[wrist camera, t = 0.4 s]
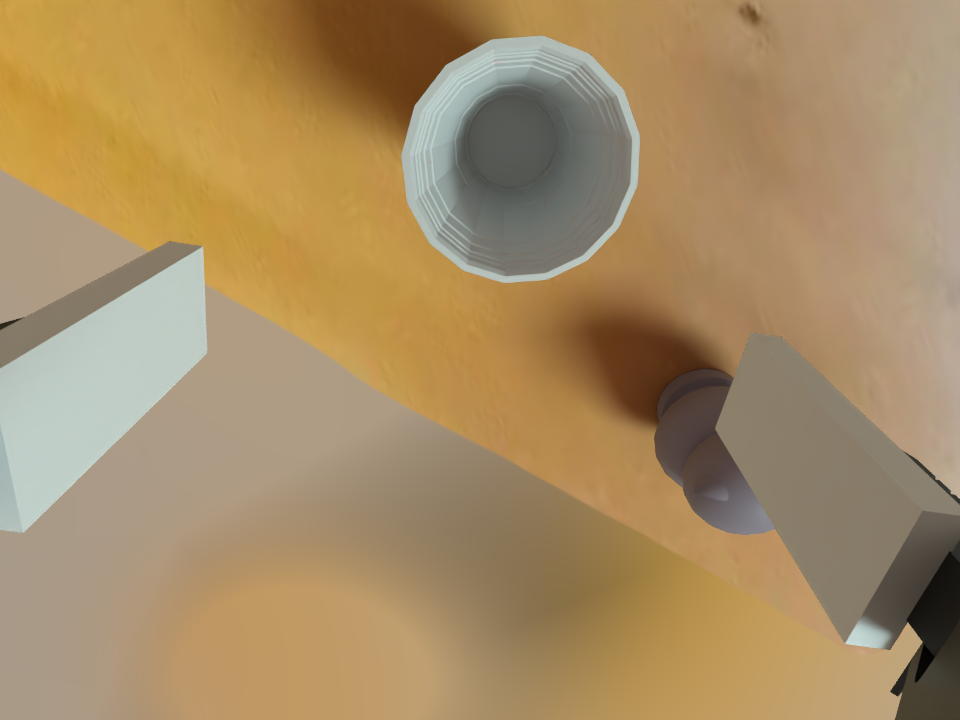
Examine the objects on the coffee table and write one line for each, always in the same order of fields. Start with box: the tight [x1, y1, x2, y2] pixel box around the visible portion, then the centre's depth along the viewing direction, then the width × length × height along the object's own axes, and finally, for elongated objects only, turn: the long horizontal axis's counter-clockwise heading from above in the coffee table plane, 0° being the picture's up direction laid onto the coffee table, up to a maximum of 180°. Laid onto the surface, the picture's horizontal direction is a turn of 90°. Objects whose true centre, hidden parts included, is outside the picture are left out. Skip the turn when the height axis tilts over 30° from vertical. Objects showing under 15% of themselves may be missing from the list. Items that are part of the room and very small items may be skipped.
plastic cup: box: [401, 36, 640, 283], centre depth 33 cm, size 11×11×12 cm
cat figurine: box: [654, 369, 775, 535], centre depth 40 cm, size 8×8×12 cm
